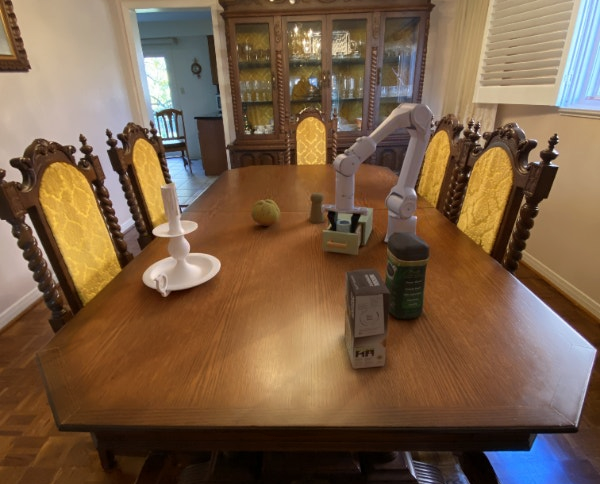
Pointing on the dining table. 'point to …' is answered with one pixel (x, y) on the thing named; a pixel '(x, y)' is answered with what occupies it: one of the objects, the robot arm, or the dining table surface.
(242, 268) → the dining table surface
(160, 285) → the candlestick
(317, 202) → the cork
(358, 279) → the coffee box
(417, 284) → the coffee jar
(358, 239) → the drawer
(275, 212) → the fruit
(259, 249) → the dining table surface
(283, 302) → the dining table surface
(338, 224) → the jar
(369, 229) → the cabinet
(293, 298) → the dining table surface
